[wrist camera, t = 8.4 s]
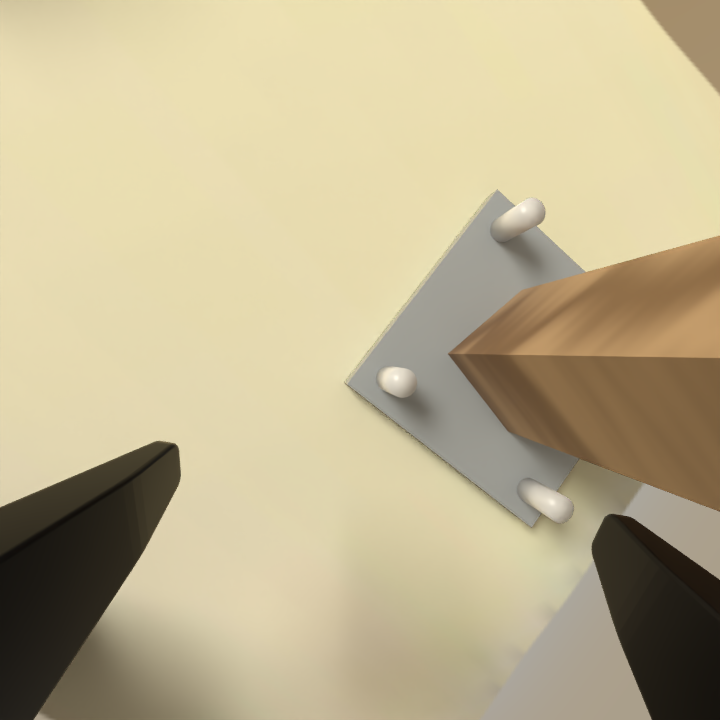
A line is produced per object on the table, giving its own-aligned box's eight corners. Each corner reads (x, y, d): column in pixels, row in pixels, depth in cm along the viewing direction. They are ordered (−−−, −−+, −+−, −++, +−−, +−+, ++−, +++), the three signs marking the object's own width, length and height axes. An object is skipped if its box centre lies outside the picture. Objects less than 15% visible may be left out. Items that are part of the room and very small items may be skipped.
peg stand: (520, 519, 20) (565, 553, 17) (344, 382, 19) (354, 389, 15) (643, 342, 21) (710, 340, 18) (487, 197, 20) (527, 164, 16)
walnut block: (507, 431, 19) (857, 564, 7) (447, 353, 18) (720, 358, 7) (577, 367, 20) (1009, 391, 8) (521, 289, 19) (897, 186, 7)
